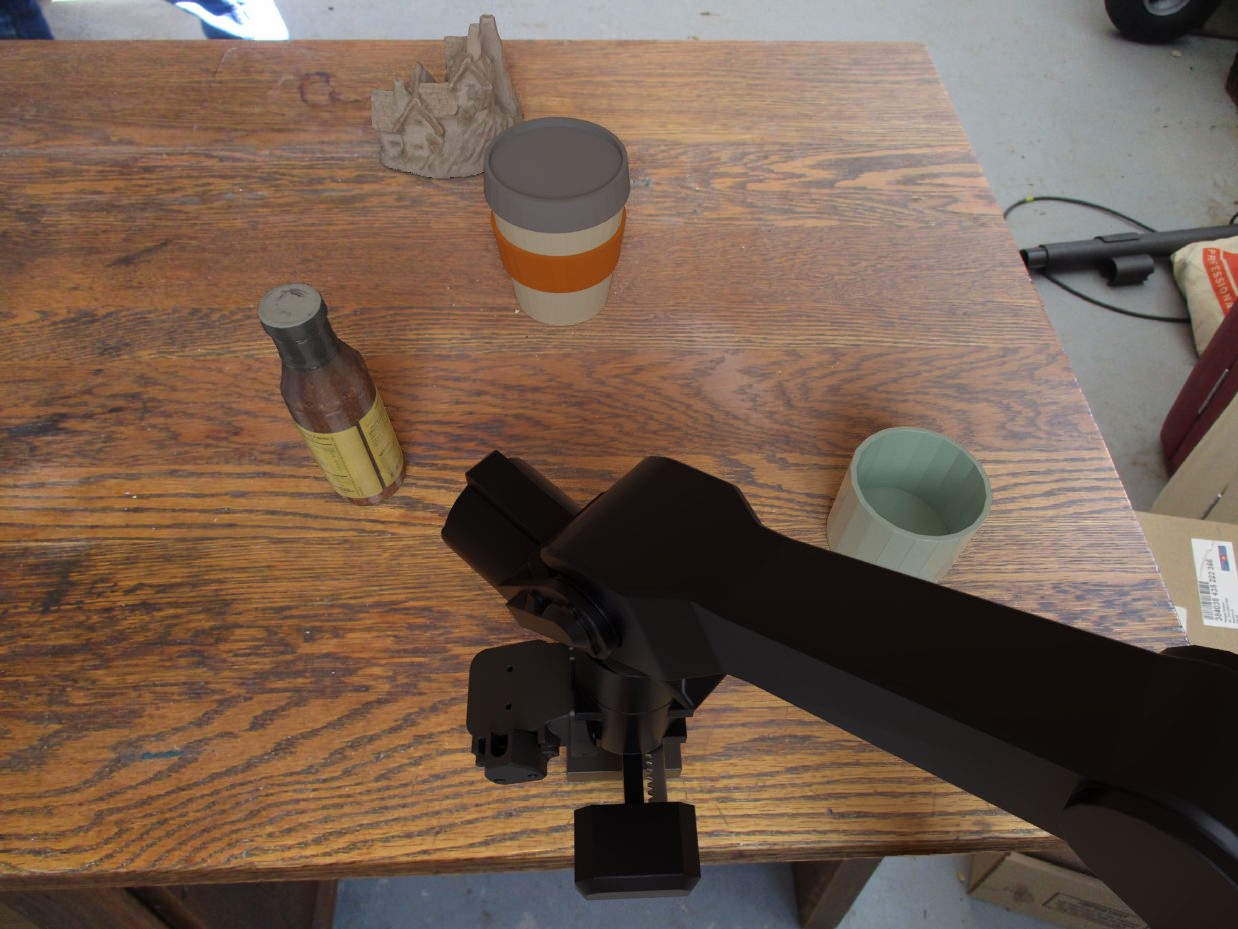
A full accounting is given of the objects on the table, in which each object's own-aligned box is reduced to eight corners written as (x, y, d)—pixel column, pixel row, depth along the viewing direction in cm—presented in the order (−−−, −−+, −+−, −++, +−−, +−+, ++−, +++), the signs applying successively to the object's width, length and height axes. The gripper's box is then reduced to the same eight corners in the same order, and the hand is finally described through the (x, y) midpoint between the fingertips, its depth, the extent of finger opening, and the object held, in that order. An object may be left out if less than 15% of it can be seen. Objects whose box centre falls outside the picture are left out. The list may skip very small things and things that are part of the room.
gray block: (677, 747, 56) (679, 738, 54) (680, 778, 55) (682, 769, 53) (567, 751, 56) (566, 742, 54) (567, 782, 54) (566, 773, 53)
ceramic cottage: (536, 102, 100) (517, -29, 87) (506, 190, 91) (480, 58, 78) (412, 97, 102) (376, -32, 89) (371, 183, 93) (324, 53, 80)
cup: (979, 559, 65) (1022, 504, 58) (880, 616, 62) (914, 564, 55) (896, 468, 70) (926, 408, 63) (801, 516, 67) (822, 458, 60)
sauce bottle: (383, 435, 71) (319, 250, 54) (422, 482, 68) (367, 303, 52) (313, 475, 68) (223, 294, 52) (351, 526, 65) (269, 351, 49)
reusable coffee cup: (473, 314, 79) (450, 178, 67) (536, 236, 86) (525, 100, 74) (592, 356, 76) (590, 222, 64) (647, 273, 83) (655, 137, 71)
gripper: (476, 498, 45) (503, 621, 58) (450, 875, 34) (490, 925, 47) (680, 493, 46) (663, 616, 58) (717, 864, 35) (686, 916, 48)
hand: (625, 752), depth 53 cm, fingers open, 9 cm apart
